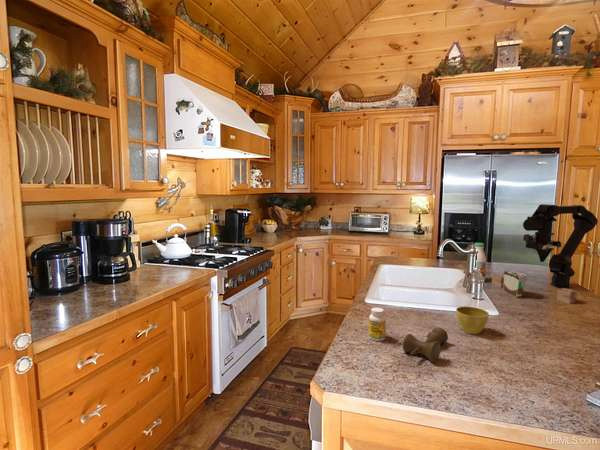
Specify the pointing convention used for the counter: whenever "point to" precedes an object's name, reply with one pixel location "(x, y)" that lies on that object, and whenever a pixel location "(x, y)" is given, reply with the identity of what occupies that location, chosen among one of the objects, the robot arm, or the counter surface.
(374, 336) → the supplement bottle
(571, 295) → the walnut cube seven
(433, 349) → the kendama
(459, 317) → the olive yellow bowl
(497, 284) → the walnut cube one
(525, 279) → the food container
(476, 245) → the milk bottle
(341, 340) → the counter surface
